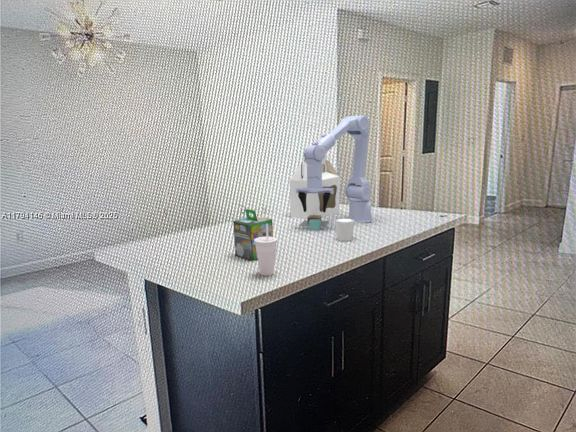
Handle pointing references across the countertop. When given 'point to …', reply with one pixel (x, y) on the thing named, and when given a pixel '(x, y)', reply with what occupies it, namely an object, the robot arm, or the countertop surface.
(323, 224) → the build mat
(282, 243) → the countertop surface
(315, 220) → the teal cube
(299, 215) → the gable box
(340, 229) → the white cylinder
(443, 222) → the countertop surface
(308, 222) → the walnut block
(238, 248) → the green carry carton
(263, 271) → the smoothie
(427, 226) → the countertop surface
